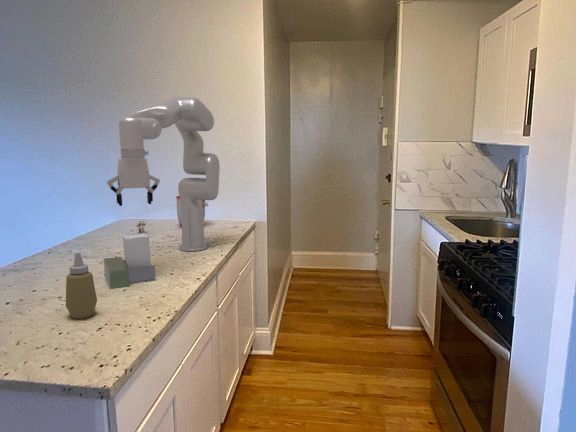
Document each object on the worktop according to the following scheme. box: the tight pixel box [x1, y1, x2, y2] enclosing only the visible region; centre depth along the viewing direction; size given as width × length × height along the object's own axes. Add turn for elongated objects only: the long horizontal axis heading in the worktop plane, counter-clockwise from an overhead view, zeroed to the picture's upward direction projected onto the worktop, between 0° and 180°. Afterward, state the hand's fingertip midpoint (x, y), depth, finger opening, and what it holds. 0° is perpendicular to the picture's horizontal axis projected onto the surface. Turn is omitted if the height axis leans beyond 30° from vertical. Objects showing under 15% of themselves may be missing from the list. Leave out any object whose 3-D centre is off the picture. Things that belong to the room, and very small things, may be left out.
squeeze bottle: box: [65, 252, 98, 320], centre depth 124 cm, size 8×8×18 cm
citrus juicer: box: [175, 195, 209, 228], centre depth 244 cm, size 16×17×20 cm
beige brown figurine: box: [135, 220, 147, 234], centre depth 227 cm, size 12×18×7 cm, turn 13°
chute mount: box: [103, 256, 156, 290], centre depth 157 cm, size 15×17×6 cm
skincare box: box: [122, 232, 152, 268], centre depth 158 cm, size 8×6×15 cm
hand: (135, 204), depth 155 cm, fingers open, 9 cm apart
